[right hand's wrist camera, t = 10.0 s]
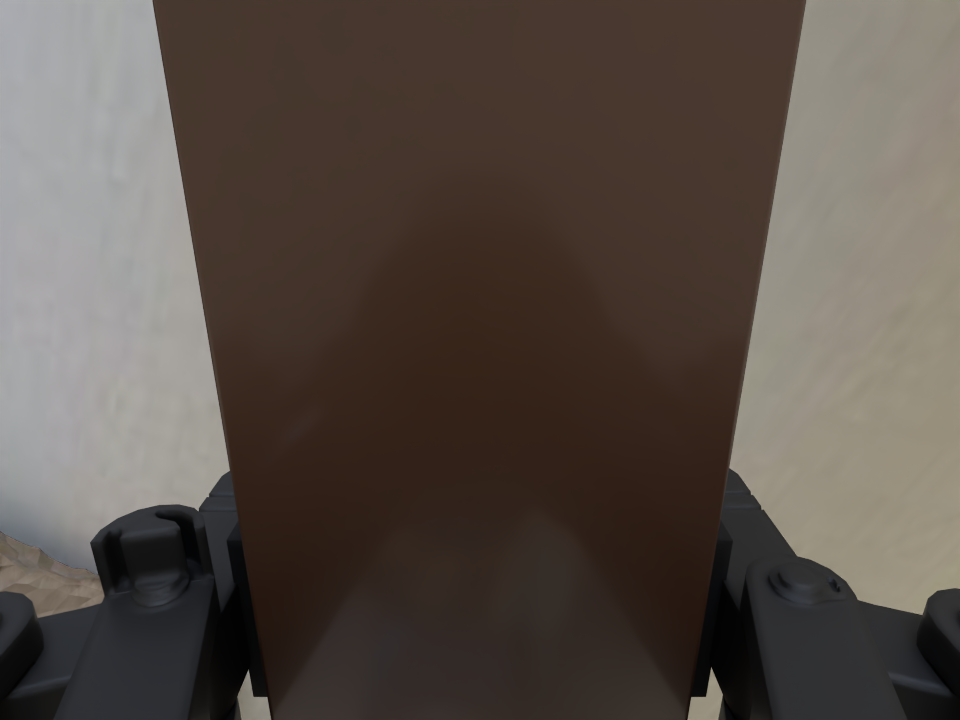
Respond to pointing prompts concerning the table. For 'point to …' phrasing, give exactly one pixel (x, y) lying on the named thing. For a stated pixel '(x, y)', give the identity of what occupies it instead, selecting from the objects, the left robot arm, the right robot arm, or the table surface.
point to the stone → (46, 579)
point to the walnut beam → (479, 333)
